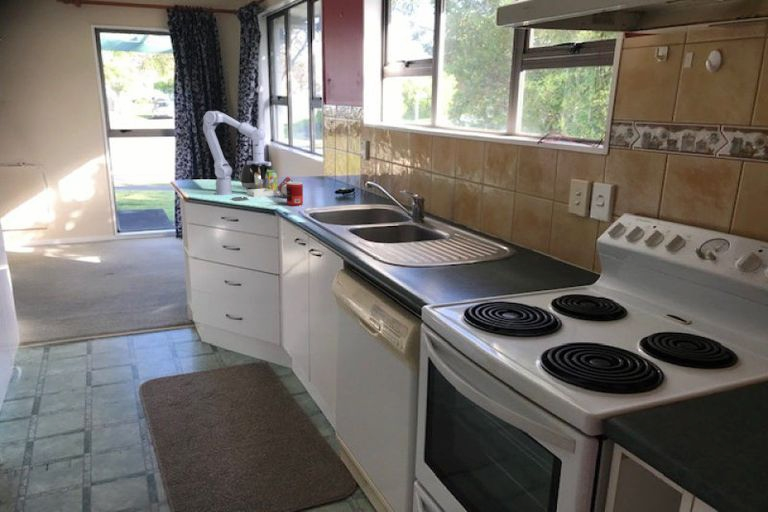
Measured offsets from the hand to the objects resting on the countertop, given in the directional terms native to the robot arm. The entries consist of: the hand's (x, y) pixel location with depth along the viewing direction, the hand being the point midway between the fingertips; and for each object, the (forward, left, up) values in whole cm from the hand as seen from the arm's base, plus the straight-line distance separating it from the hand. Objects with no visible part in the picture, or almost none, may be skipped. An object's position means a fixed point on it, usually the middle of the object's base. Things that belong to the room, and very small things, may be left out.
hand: (259, 178), depth 308 cm
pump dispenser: (-31, +6, -9) cm, 33 cm away
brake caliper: (+13, +10, -9) cm, 19 cm away
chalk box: (-15, +10, -9) cm, 20 cm away
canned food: (+35, +4, -9) cm, 36 cm away
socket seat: (+10, -15, -9) cm, 20 cm away
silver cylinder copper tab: (0, -1, -3) cm, 3 cm away
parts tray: (0, 0, -9) cm, 9 cm away
